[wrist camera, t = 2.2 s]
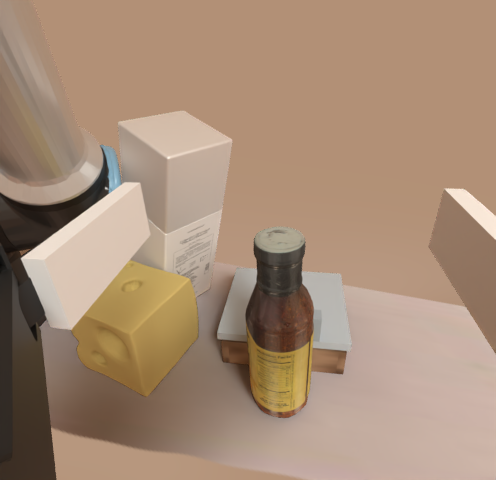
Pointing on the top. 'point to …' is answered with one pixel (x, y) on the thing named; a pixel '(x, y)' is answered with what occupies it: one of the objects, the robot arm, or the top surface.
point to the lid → (324, 301)
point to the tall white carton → (177, 190)
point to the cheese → (139, 326)
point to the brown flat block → (320, 357)
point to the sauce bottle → (280, 324)
